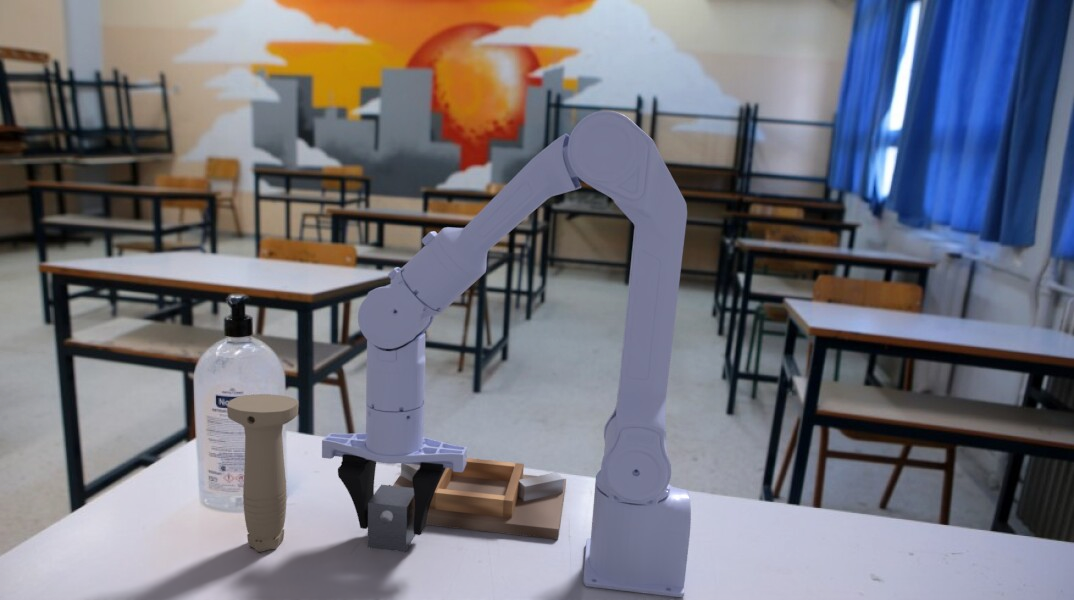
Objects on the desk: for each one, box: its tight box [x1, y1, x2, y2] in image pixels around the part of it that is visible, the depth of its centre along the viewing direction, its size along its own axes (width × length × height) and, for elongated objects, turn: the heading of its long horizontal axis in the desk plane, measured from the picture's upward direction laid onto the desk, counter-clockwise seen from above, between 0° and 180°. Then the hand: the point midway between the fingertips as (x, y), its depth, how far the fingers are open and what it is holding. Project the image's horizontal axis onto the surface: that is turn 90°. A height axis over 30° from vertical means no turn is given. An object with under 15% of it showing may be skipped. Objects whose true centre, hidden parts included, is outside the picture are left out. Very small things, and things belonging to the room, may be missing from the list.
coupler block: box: [367, 484, 416, 553], centre depth 70 cm, size 4×5×5 cm
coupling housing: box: [392, 457, 567, 540], centre depth 79 cm, size 20×12×3 cm, turn 84°
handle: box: [226, 393, 299, 553], centre depth 67 cm, size 5×6×15 cm
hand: (393, 526), depth 70 cm, fingers open, 5 cm apart
